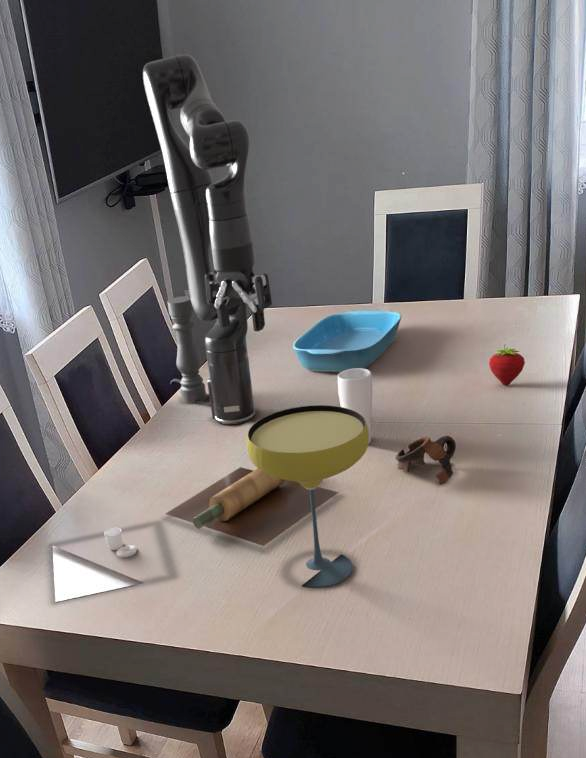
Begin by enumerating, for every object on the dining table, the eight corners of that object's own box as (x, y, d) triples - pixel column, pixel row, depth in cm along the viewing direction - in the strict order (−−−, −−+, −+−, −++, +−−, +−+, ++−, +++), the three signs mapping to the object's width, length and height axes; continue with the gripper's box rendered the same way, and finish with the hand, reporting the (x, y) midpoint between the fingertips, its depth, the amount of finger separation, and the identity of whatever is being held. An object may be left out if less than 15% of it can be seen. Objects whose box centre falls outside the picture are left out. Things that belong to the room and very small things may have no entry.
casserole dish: (333, 332, 248) (331, 307, 244) (411, 332, 237) (410, 306, 233) (283, 379, 221) (280, 351, 217) (368, 381, 210) (367, 353, 206)
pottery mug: (434, 494, 158) (410, 457, 157) (404, 498, 167) (381, 463, 166) (477, 456, 162) (454, 419, 160) (445, 462, 171) (423, 428, 169)
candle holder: (178, 403, 217) (162, 304, 205) (187, 394, 222) (172, 296, 210) (201, 403, 215) (186, 303, 202) (210, 394, 219) (196, 295, 207)
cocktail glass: (265, 545, 151) (248, 411, 139) (371, 537, 148) (363, 399, 135) (261, 604, 135) (242, 459, 123) (380, 597, 132) (372, 447, 120)
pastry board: (166, 519, 165) (165, 513, 164) (241, 472, 177) (240, 467, 177) (264, 551, 149) (263, 545, 148) (338, 497, 162) (338, 491, 161)
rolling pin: (189, 531, 156) (184, 507, 154) (285, 469, 172) (282, 446, 170) (209, 538, 153) (205, 514, 151) (305, 474, 169) (303, 451, 167)
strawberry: (520, 391, 191) (522, 347, 186) (485, 389, 195) (486, 346, 190) (526, 381, 195) (528, 338, 190) (492, 380, 199) (493, 337, 194)
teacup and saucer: (142, 559, 153) (138, 539, 151) (97, 568, 152) (93, 549, 150) (136, 536, 161) (132, 517, 159) (94, 545, 160) (89, 526, 158)
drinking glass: (374, 448, 178) (371, 378, 170) (340, 450, 179) (336, 381, 172) (375, 434, 183) (371, 366, 176) (342, 436, 185) (338, 369, 178)
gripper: (274, 237, 157) (283, 325, 165) (216, 236, 166) (227, 319, 174) (247, 248, 153) (257, 338, 161) (189, 246, 162) (201, 331, 170)
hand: (241, 328), depth 167 cm, fingers open, 8 cm apart
